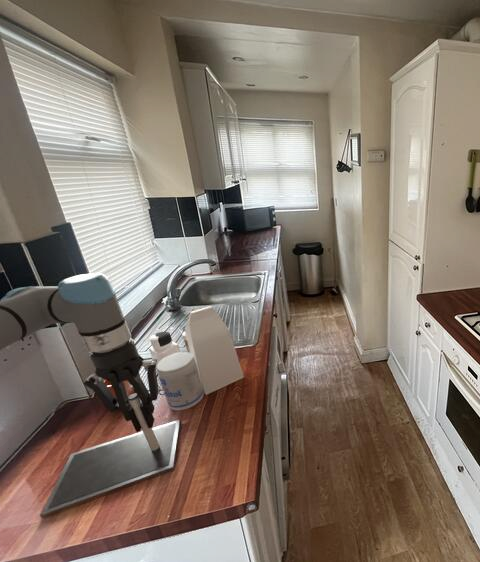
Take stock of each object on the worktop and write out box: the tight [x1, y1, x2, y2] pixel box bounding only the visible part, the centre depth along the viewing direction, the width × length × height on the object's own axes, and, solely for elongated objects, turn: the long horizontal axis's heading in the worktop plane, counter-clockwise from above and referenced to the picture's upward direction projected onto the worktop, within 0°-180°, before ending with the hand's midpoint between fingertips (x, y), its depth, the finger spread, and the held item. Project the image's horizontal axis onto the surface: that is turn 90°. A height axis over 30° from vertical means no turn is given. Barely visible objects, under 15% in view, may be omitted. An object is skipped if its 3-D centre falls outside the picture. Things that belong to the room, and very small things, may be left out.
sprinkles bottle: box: [181, 331, 190, 353], centre depth 109 cm, size 5×5×13 cm
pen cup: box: [102, 379, 135, 399], centre depth 95 cm, size 6×6×7 cm
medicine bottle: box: [148, 331, 181, 367], centre depth 110 cm, size 7×7×12 cm
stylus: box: [128, 392, 159, 451], centre depth 74 cm, size 2×2×17 cm
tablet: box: [39, 419, 182, 520], centre depth 75 cm, size 24×16×1 cm, turn 115°
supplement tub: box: [156, 351, 205, 411], centre depth 92 cm, size 10×10×15 cm
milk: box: [184, 305, 245, 396], centre depth 99 cm, size 12×12×26 cm
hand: (145, 425), depth 75 cm, fingers closed on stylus, 2 cm apart
